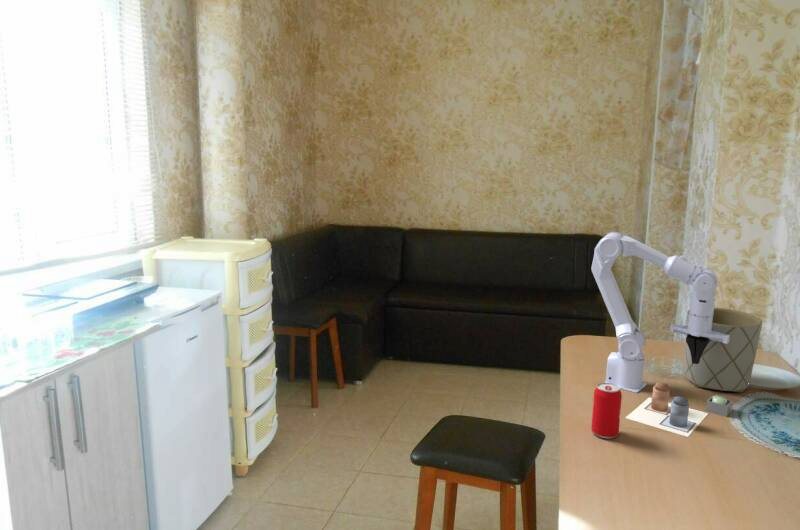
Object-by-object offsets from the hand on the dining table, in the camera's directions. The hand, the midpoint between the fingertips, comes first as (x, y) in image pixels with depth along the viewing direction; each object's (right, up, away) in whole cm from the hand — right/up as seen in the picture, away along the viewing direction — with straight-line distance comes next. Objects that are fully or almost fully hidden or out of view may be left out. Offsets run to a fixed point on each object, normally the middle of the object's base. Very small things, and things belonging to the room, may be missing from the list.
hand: (695, 362), depth 168 cm
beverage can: (-31, -14, -20) cm, 39 cm away
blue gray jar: (-11, -13, -15) cm, 22 cm away
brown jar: (-12, -11, -6) cm, 17 cm away
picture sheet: (-12, -12, -10) cm, 20 cm away
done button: (+3, -11, -7) cm, 13 cm away
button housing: (+3, -12, -7) cm, 14 cm away
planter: (+12, -8, +13) cm, 19 cm away
